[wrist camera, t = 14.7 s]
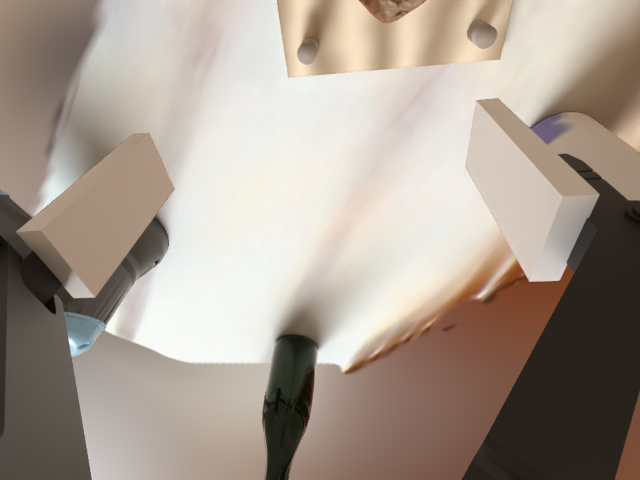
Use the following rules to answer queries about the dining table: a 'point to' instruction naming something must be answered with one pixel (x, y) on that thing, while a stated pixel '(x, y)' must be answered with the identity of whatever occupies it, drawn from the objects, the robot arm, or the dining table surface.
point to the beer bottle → (287, 402)
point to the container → (594, 149)
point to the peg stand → (389, 35)
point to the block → (390, 8)
